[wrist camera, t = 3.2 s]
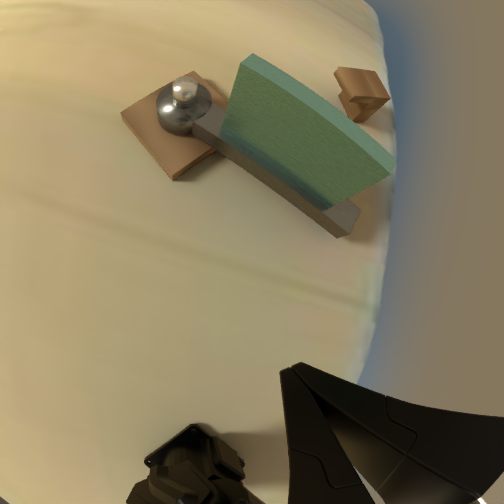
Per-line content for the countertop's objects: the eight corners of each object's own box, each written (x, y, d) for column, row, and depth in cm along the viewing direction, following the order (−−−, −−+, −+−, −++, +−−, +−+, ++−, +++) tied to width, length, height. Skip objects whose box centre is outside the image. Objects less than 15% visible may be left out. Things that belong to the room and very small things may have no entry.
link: (146, 119, 20) (136, 35, 11) (180, 87, 22) (187, 5, 12) (331, 248, 23) (412, 224, 14) (352, 207, 24) (429, 171, 15)
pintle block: (172, 180, 22) (172, 175, 21) (122, 119, 21) (120, 112, 20) (245, 131, 24) (248, 124, 23) (193, 78, 24) (193, 70, 22)
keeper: (329, 122, 26) (354, 95, 21) (317, 95, 27) (338, 66, 22) (364, 121, 28) (390, 98, 23) (351, 96, 28) (375, 71, 23)
